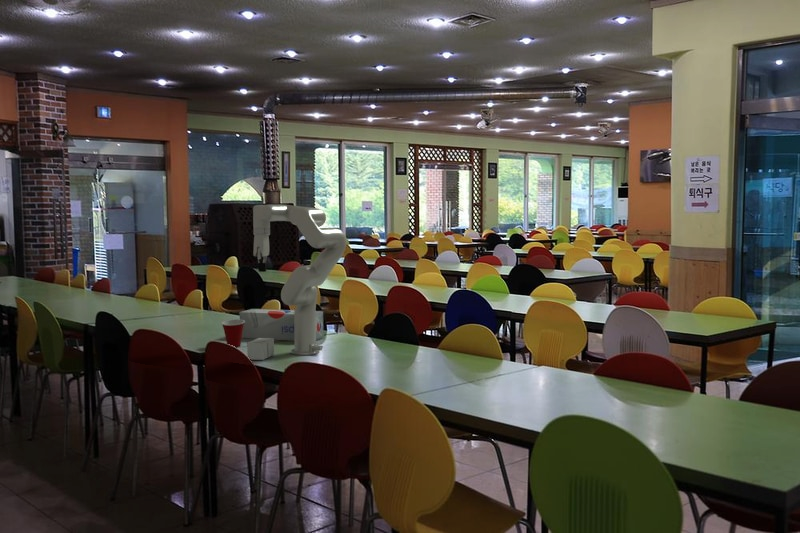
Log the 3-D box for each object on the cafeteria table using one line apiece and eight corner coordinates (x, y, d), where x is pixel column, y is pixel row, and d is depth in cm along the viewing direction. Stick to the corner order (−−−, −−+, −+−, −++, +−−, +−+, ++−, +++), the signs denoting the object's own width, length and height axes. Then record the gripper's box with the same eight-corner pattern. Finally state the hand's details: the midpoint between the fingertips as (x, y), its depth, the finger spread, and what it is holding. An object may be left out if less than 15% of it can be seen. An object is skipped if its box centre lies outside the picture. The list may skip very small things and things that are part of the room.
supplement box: (274, 354, 332) (263, 360, 320) (259, 353, 334) (246, 359, 322) (274, 338, 332) (262, 343, 319) (258, 337, 333) (246, 342, 321)
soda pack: (324, 338, 376) (324, 310, 375) (313, 343, 364) (313, 314, 362) (251, 334, 389) (251, 307, 388) (238, 338, 377) (238, 310, 375)
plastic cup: (216, 347, 351) (216, 321, 350) (232, 343, 361) (231, 318, 360) (235, 349, 346) (234, 323, 345) (250, 345, 356) (249, 320, 355)
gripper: (258, 231, 358) (259, 270, 359) (248, 232, 343) (249, 272, 344) (274, 231, 357) (274, 270, 358) (264, 232, 342) (265, 273, 343)
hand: (262, 271), depth 351 cm, fingers closed
